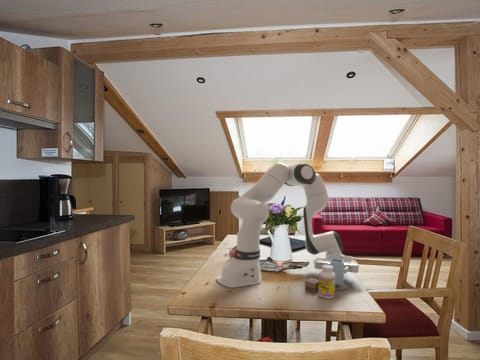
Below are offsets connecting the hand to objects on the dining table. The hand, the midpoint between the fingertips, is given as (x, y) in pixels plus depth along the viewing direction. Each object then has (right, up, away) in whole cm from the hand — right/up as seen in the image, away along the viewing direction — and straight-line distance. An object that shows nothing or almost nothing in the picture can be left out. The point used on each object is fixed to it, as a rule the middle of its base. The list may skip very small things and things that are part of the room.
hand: (336, 270), depth 139 cm
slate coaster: (0, -8, +1) cm, 8 cm away
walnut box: (-12, -8, -3) cm, 14 cm away
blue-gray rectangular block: (0, -5, +1) cm, 6 cm away
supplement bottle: (-7, -8, -10) cm, 15 cm away
